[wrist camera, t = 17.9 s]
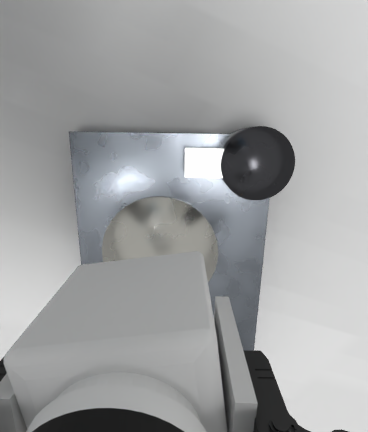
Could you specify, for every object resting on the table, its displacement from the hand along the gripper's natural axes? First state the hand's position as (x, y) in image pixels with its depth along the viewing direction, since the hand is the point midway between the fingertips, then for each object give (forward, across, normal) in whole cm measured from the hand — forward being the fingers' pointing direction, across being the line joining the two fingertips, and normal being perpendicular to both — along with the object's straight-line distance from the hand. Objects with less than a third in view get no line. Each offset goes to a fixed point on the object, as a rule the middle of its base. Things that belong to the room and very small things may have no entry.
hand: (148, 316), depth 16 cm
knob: (+9, +6, +8) cm, 13 cm away
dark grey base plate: (+11, +1, -3) cm, 11 cm away
